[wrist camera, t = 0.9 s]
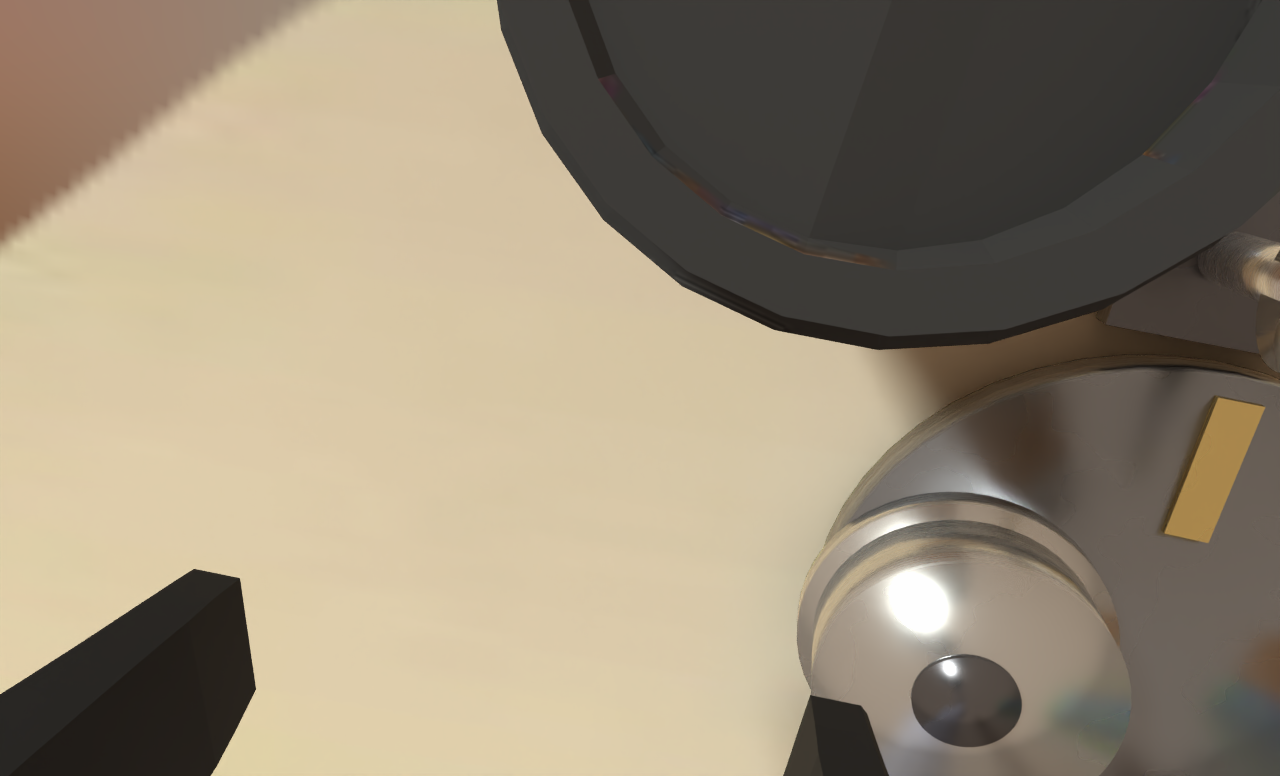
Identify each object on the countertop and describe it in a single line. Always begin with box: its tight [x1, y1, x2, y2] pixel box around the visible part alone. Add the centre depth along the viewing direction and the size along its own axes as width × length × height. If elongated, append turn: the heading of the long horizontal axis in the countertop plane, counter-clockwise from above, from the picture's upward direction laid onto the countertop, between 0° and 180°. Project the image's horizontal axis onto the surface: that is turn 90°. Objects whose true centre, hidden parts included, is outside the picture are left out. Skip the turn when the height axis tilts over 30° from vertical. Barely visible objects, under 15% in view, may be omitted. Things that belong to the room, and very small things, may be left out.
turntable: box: [824, 355, 1280, 776], centre depth 21 cm, size 16×21×4 cm
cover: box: [797, 492, 1131, 776], centre depth 21 cm, size 8×8×3 cm
